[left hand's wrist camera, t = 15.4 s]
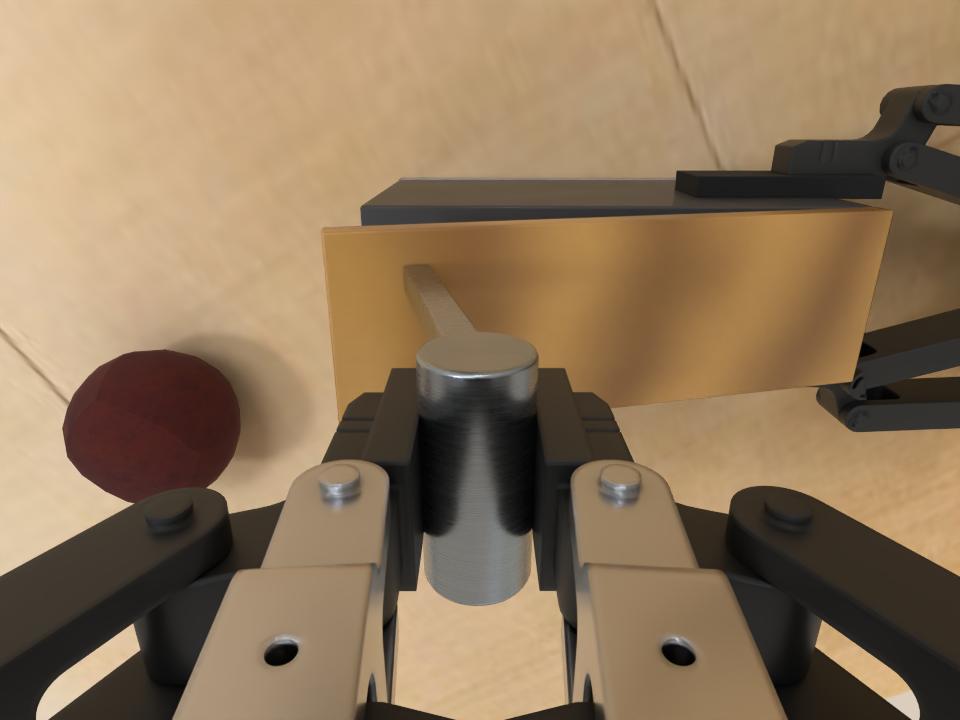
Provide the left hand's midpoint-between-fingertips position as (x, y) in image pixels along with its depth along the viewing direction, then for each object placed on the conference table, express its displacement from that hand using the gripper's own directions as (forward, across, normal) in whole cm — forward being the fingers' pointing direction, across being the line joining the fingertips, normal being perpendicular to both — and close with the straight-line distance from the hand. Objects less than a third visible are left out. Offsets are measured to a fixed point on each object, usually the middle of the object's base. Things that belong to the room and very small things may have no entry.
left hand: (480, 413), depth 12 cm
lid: (+7, +4, 0) cm, 8 cm away
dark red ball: (+19, -16, -9) cm, 26 cm away
